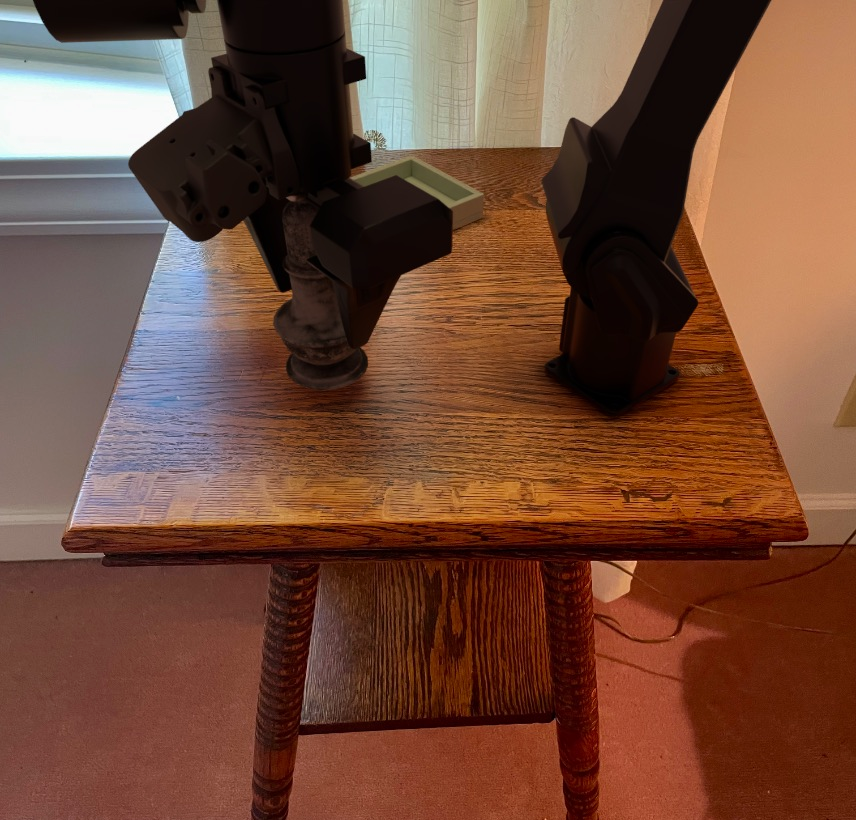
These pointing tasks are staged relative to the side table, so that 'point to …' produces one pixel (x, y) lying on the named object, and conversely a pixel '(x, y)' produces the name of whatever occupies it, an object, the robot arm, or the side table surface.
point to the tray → (432, 187)
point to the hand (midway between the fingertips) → (320, 316)
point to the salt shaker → (313, 314)
